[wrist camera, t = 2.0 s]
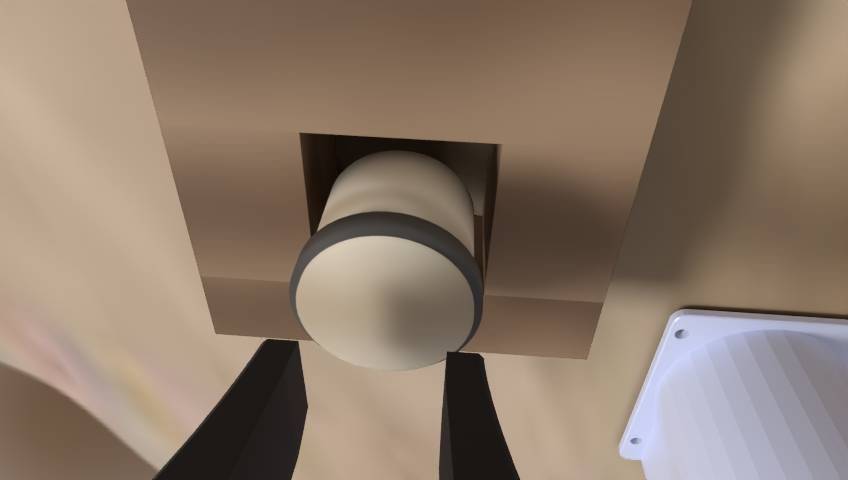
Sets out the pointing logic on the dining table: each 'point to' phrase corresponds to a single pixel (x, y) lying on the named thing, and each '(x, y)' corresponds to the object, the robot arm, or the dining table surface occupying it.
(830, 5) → the dining table surface
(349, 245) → the birch peg inner
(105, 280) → the dining table surface
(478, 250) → the walnut block
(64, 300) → the dining table surface
